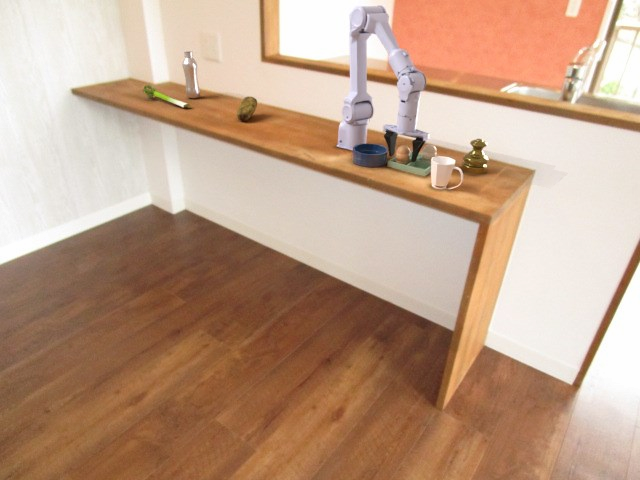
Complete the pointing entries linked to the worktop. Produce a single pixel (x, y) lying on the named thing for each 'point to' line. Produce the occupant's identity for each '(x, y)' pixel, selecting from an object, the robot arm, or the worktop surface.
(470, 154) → the gold decorative ornament
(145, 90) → the leek
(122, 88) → the worktop surface
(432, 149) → the cream egg
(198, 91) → the plastic bottle
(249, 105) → the potato
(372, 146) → the bowl
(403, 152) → the brown egg
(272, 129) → the worktop surface
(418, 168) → the tray
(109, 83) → the worktop surface
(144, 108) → the worktop surface
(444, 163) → the cup
